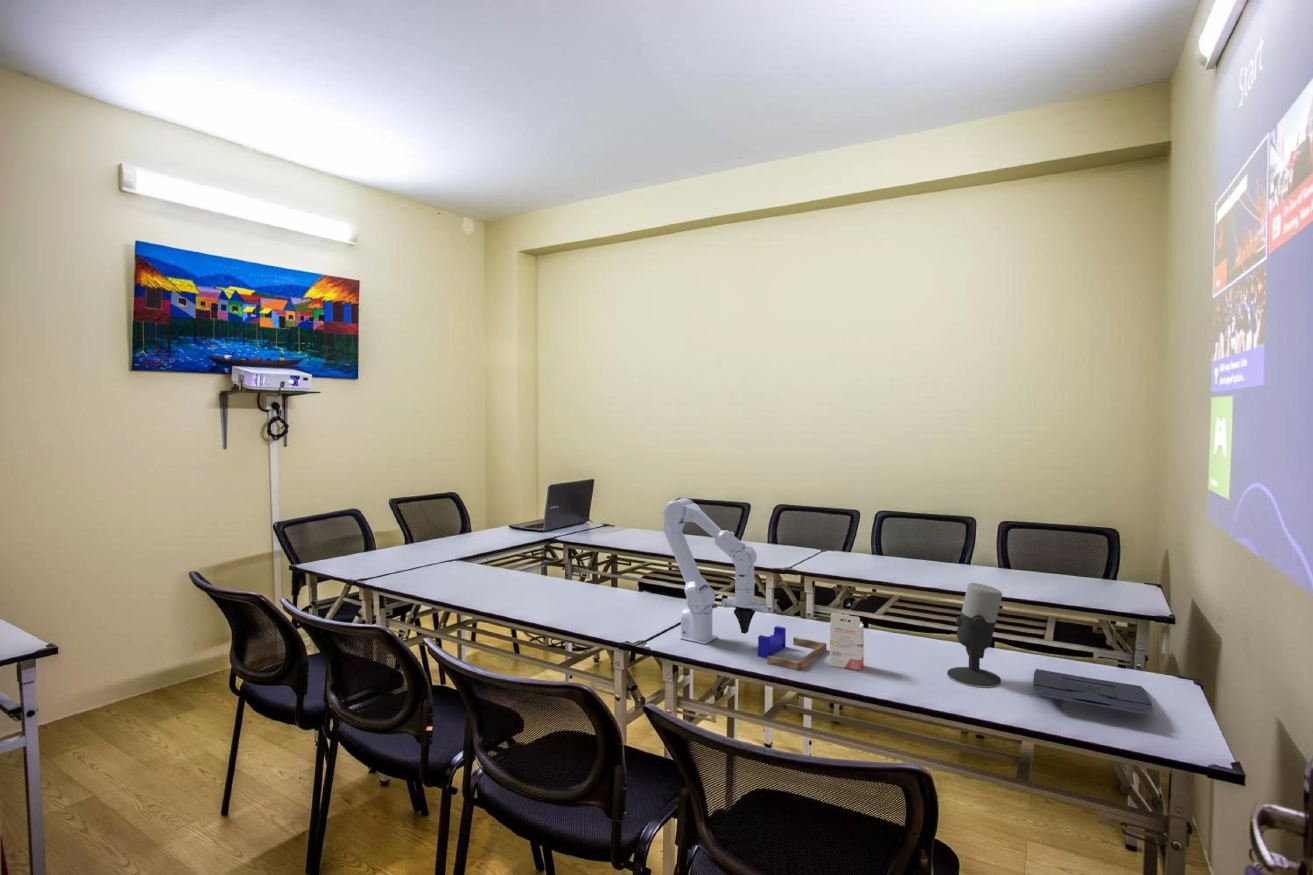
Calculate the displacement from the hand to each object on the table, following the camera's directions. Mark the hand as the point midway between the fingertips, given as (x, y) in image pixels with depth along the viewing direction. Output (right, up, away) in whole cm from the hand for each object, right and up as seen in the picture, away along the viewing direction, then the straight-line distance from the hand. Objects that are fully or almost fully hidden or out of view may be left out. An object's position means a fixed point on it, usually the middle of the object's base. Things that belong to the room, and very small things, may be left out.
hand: (744, 632), depth 207 cm
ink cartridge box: (+26, -5, -16) cm, 31 cm away
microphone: (+58, -5, -25) cm, 63 cm away
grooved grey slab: (+80, -6, -38) cm, 89 cm away
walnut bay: (+14, -4, -9) cm, 17 cm away
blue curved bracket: (+7, -5, -5) cm, 9 cm away
